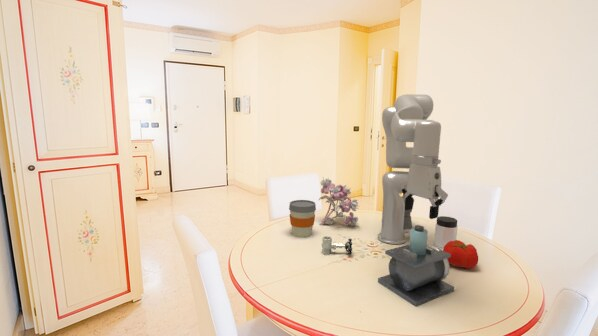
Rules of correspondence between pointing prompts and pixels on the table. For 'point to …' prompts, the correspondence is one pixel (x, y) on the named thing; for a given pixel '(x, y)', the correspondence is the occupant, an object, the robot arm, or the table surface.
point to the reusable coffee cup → (302, 217)
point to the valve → (334, 245)
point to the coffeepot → (407, 217)
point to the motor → (417, 274)
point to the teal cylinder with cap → (418, 240)
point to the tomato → (461, 254)
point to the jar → (445, 230)
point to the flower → (339, 195)
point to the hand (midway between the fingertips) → (420, 213)
